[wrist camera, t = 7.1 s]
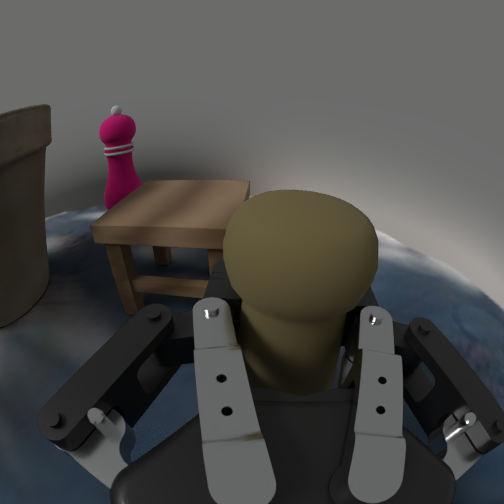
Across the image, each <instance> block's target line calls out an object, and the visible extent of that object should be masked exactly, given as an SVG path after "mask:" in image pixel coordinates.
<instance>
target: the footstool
mask: <svg viewBox="0 0 504 504" xmlns="http://www.w3.org/2000/svg"><path fill="white" fill-rule="evenodd" d="M249 195H250V181H234V180H233V181H232V180H168V181H146V182H145V183H144V184H142V185H141V186H140V187H138V188H137V189H136V190H134V191H133V192H132V193H130V194H129V195H128V196H126V197H125V198H124V199H122V200H121V201H120V202H118V203H117V204H116V205H115V206H113V207H112V208H111V209H110V210H108V211H107V212H106V213H105V214H103V215H102V216H101V217H100V218H99V219H97V220H96V221H95V222H94V223H93V224H91V225H90V227H91V231H92V235H93V239H94V243H104V244H105V248H106V252H107V255H108V259H109V263H110V266H111V270H112V273H113V276H114V280H115V283H116V286H117V289H118V292H119V295H120V298H121V301H122V304H123V307H124V310H125V313H126V314H129V315H135V314H136V313H137V312H138V311H139V310H140V309H142V308H143V307H145V303H144V300H143V296H142V293H141V292H145V293H154V294H163V295H173V296H183V297H194V298H203V296H204V293H205V290H206V287H207V284H208V280H195V279H182V278H169V277H157V276H146V275H137V274H136V269H135V265H134V261H133V257H132V252H131V248H130V245H147V246H153V251H154V257H155V262H156V264H162V265H168V263H169V262H170V260H171V251H170V247H187V248H207V249H208V259H209V272H210V275H211V273H212V269H213V266H214V264H215V263H216V262H218V261H219V260H220V259H223V240H224V237H225V233H226V229H227V226H228V223H229V221H230V219H231V217H232V215H233V214H234V212H235V211H236V209H237V208H238V206H239V205H241V204H242V203H243V202H245V201H246V200H248V199H249Z"/></svg>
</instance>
